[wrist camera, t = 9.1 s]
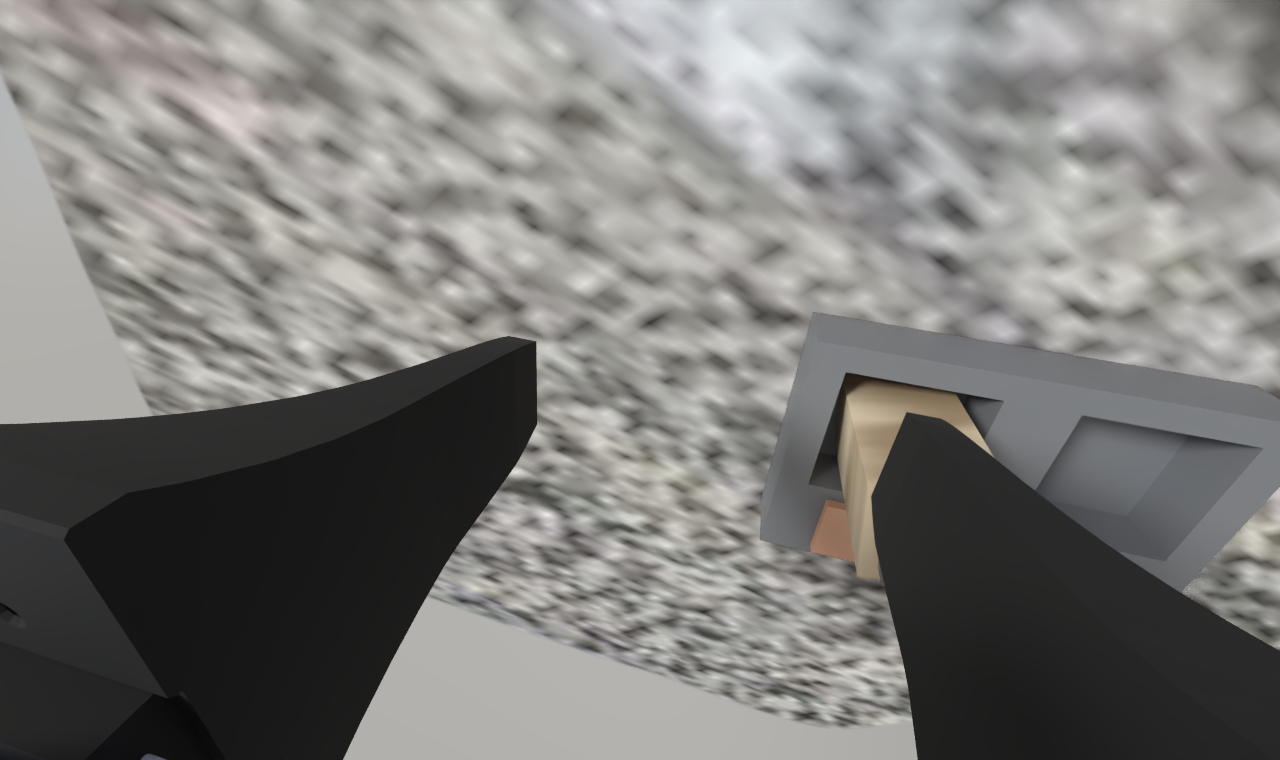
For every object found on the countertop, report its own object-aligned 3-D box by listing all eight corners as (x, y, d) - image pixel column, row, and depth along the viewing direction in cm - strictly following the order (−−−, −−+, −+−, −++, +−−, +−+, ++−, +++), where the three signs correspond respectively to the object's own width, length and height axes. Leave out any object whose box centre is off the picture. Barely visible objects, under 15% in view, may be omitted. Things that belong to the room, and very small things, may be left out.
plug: (943, 373, 18) (1028, 513, 12) (929, 451, 20) (998, 611, 14) (841, 373, 19) (872, 503, 13) (835, 448, 21) (860, 596, 15)
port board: (1257, 386, 17) (1345, 438, 14) (1105, 574, 21) (1151, 640, 18) (813, 312, 19) (819, 346, 16) (761, 497, 23) (759, 547, 21)
